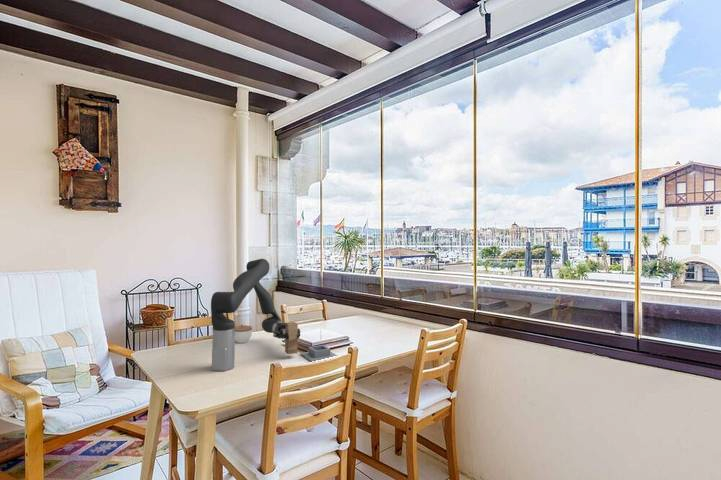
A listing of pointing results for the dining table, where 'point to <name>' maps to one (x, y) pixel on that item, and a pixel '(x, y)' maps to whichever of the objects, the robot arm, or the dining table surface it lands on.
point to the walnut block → (291, 337)
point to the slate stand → (317, 353)
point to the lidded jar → (242, 333)
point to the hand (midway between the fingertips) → (293, 336)
